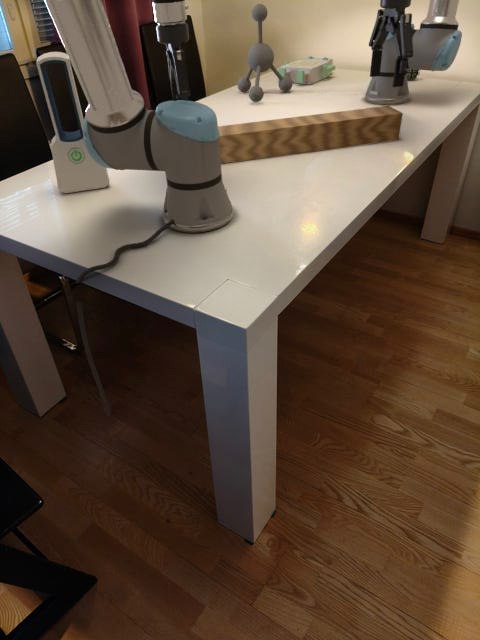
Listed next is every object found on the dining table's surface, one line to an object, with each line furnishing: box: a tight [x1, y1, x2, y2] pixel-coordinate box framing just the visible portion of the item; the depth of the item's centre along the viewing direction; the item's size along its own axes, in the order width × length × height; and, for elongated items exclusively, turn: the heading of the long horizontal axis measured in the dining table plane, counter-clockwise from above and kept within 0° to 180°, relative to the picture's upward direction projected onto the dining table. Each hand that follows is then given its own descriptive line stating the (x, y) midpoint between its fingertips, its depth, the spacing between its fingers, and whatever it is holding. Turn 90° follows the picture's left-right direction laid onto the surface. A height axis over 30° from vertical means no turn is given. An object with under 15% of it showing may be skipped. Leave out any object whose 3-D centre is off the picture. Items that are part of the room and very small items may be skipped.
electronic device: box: [35, 51, 110, 194], centre depth 116 cm, size 12×8×30 cm, turn 105°
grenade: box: [407, 69, 421, 81], centre depth 194 cm, size 7×6×10 cm
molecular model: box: [237, 3, 293, 103], centre depth 180 cm, size 24×22×30 cm
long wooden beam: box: [218, 105, 404, 165], centre depth 137 cm, size 66×8×7 cm, turn 104°
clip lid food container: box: [277, 55, 336, 85], centre depth 206 cm, size 26×6×20 cm
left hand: (182, 116), depth 128 cm, fingers open, 13 cm apart
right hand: (385, 81), depth 135 cm, fingers open, 13 cm apart
